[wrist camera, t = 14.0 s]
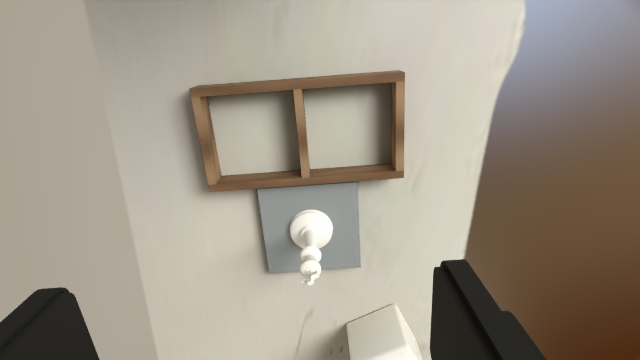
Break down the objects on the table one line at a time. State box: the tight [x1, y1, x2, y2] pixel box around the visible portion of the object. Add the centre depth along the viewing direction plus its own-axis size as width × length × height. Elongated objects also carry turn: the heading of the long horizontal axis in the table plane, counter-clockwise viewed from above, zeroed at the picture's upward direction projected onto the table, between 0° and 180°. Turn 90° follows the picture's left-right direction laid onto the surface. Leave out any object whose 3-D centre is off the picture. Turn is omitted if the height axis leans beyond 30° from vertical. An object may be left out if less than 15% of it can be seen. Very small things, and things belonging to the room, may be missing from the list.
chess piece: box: [290, 210, 333, 286], centre depth 37 cm, size 5×5×10 cm
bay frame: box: [189, 71, 405, 192], centre depth 37 cm, size 11×20×2 cm, turn 94°
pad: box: [257, 181, 361, 274], centre depth 42 cm, size 11×11×1 cm
